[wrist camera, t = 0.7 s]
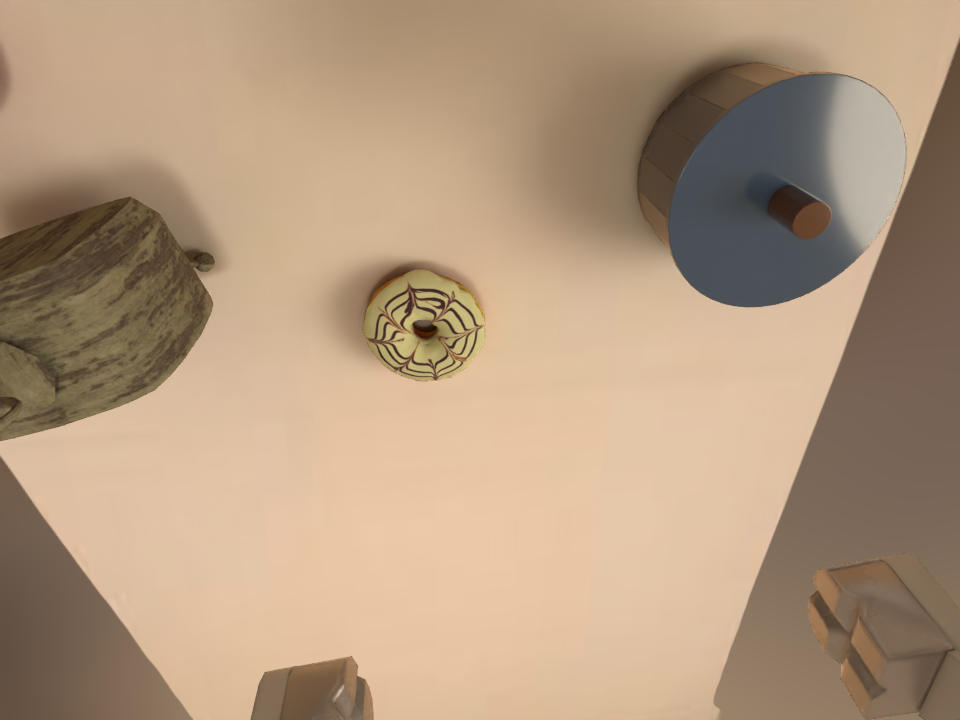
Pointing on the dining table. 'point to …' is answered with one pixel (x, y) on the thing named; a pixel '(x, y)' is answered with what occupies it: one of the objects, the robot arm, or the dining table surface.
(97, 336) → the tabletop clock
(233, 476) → the dining table surface
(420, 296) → the decorated donut
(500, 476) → the dining table surface
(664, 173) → the crock
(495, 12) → the dining table surface
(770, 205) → the crock lid
